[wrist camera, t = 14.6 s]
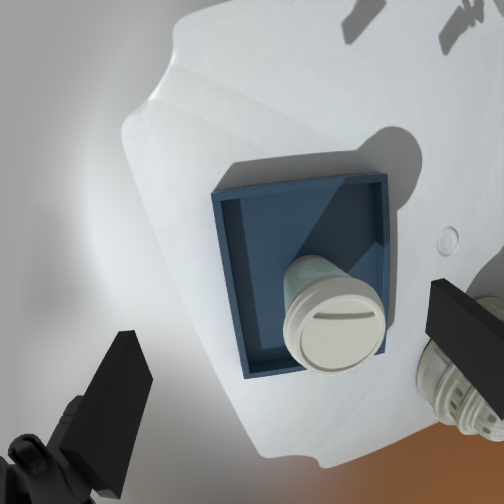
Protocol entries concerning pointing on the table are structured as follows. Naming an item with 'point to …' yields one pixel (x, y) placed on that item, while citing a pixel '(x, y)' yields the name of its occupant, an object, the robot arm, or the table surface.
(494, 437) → the dome
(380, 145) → the table surface
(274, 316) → the tray
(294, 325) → the coffee cup
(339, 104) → the table surface
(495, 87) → the table surface
